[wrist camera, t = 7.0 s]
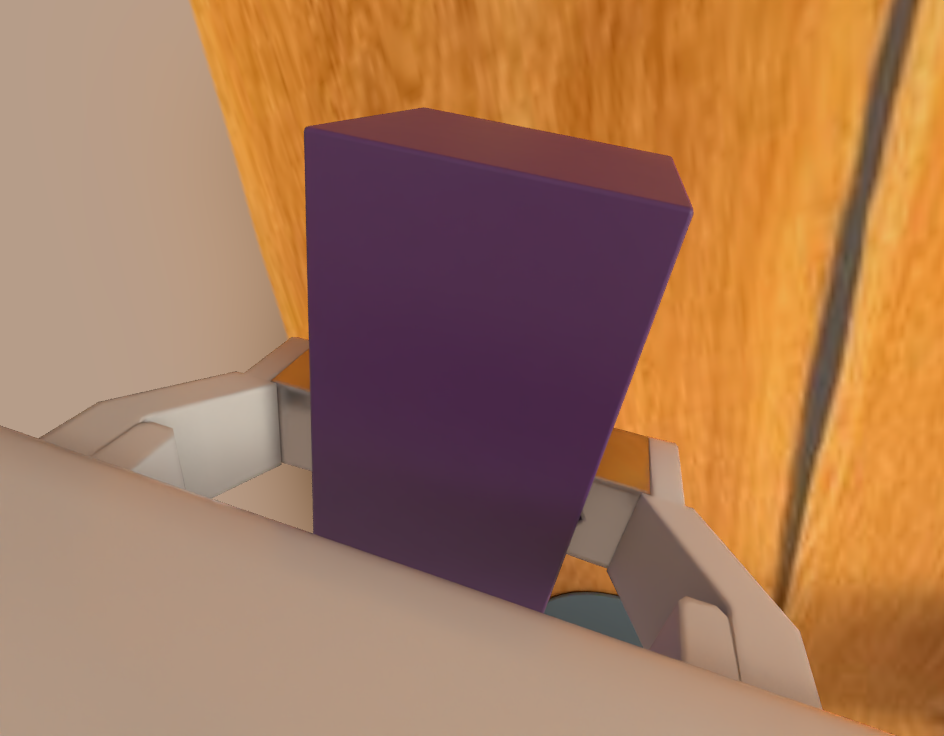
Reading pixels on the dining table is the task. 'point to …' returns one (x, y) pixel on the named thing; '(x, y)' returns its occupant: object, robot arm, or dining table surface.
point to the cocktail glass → (594, 614)
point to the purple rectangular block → (474, 334)
